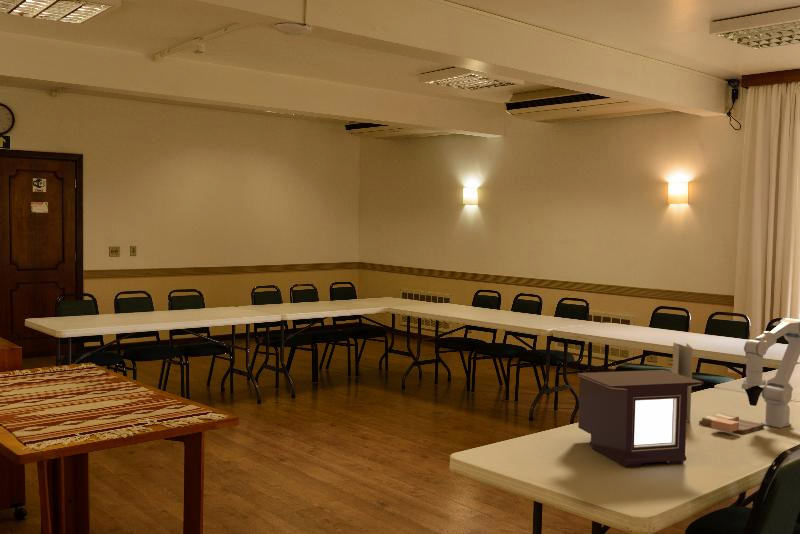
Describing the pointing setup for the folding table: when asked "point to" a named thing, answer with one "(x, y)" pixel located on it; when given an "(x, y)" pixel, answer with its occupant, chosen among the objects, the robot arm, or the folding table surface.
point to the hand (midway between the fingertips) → (753, 405)
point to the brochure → (683, 367)
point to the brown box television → (635, 415)
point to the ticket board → (743, 425)
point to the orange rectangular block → (725, 425)
